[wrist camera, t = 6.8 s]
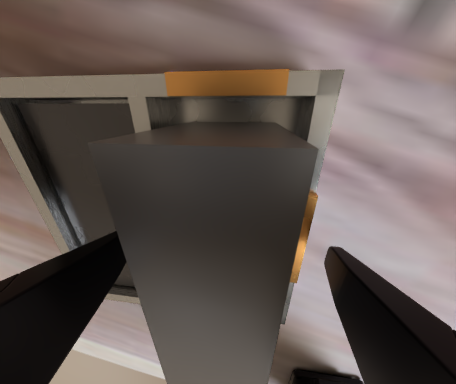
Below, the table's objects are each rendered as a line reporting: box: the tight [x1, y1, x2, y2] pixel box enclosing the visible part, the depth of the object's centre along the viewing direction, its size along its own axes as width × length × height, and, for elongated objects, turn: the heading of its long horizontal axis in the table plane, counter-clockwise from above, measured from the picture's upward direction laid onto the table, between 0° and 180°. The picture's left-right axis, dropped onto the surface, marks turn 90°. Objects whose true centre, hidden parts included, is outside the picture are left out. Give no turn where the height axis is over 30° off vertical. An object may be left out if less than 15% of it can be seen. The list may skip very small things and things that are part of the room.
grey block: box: [88, 122, 319, 384], centre depth 8 cm, size 10×4×6 cm, turn 0°
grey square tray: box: [0, 69, 345, 324], centre depth 10 cm, size 13×14×3 cm
